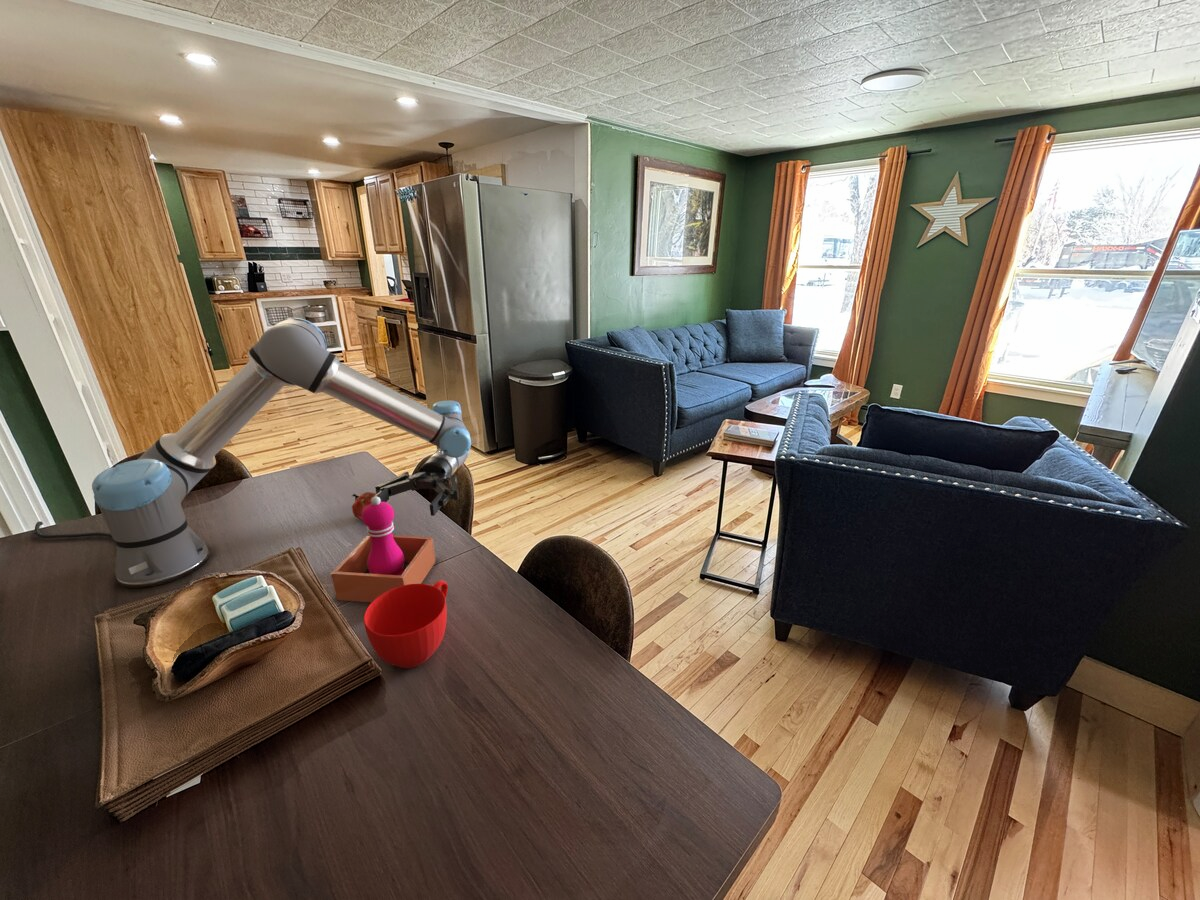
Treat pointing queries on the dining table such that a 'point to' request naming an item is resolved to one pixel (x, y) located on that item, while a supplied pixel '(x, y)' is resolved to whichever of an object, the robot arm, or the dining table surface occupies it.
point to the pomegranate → (361, 503)
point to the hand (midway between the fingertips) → (402, 509)
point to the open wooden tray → (368, 587)
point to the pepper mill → (382, 539)
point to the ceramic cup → (407, 623)
